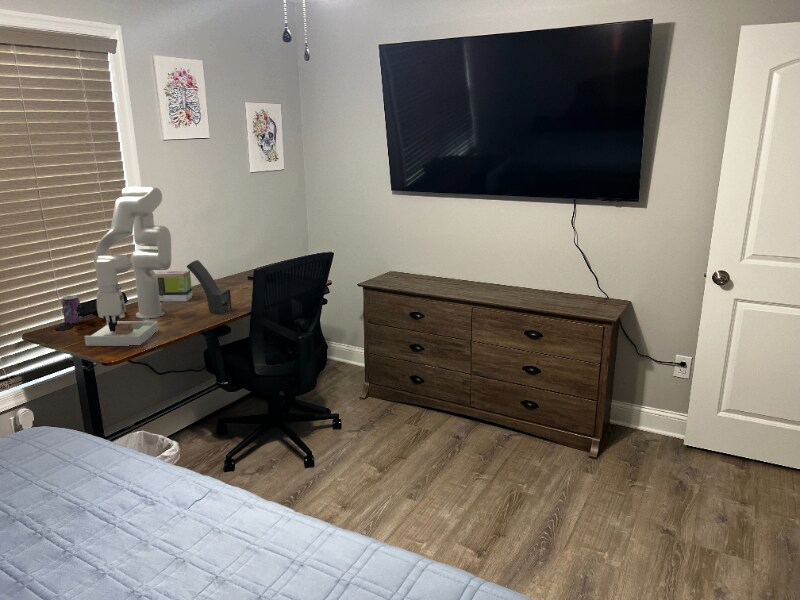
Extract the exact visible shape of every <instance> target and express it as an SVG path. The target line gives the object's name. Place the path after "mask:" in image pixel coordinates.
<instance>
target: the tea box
mask: <svg viewBox="0 0 800 600" xmlns="http://www.w3.org/2000/svg"><path fill="white" fill-rule="evenodd" d="M155 274H156V276H157V278H158V287H159V297H160V301H163V302H188V301H190V299H191V298H192V297H193V287H192V278H191V271H190V270H189V269H167V270H159V271H158V272H156V273H155Z"/></svg>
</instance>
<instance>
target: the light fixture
mask: <svg viewBox="0 0 800 600" xmlns="http://www.w3.org/2000/svg"><path fill="white" fill-rule="evenodd" d="M186 268H187V270H190V273H192V274H193V276H195V278H196V280H197V281H198V283H199V284H200V287H202V290H203V291H204V294H205V297H206V300H207V307H208V311H209V312H208V313H209V314H213V313H215V314H216V313H217V314H218V313H219V315H224V314H225V313H227V312H229V310H228V309H230V310H231V309H232V298H231V289H230V288H229V289H228V288H227V289H225V290H222V289H220V288H219V286H218V285H217V283H216V282H215V279H214V278H213V277H212V275H211V274H210V273H209V271H208V269H207V268H206V266H204V265H203V264H202V262H200V260H198V259H196V260H194V261H192V262H190V263H188V264H187V266H186Z"/></svg>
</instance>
